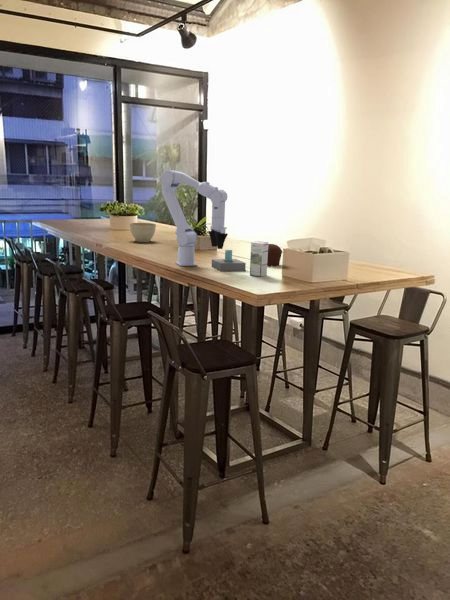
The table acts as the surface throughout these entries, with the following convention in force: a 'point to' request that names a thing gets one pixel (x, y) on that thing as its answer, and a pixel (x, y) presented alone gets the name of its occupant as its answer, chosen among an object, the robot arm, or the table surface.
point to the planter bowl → (142, 231)
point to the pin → (228, 255)
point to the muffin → (273, 255)
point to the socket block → (228, 265)
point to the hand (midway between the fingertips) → (217, 247)
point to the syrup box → (258, 258)
